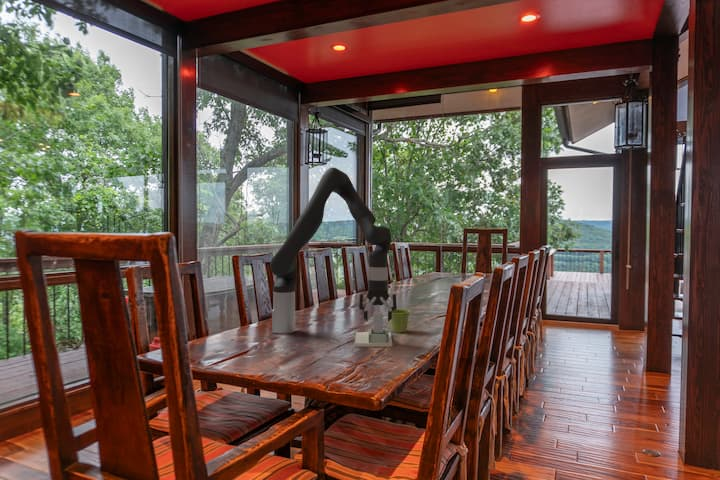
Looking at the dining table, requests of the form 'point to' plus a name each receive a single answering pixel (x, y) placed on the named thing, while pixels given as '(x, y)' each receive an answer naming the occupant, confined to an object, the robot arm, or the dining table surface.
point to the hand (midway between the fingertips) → (377, 320)
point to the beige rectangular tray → (373, 339)
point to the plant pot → (399, 320)
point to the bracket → (378, 322)
